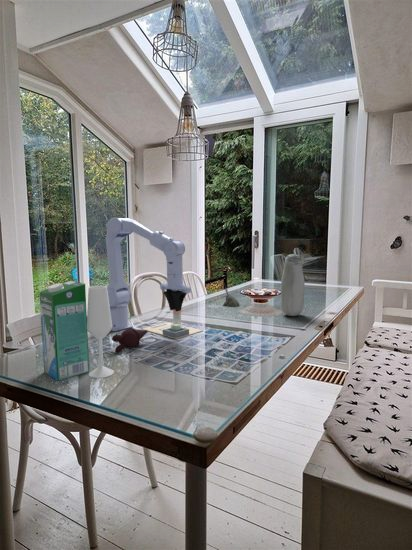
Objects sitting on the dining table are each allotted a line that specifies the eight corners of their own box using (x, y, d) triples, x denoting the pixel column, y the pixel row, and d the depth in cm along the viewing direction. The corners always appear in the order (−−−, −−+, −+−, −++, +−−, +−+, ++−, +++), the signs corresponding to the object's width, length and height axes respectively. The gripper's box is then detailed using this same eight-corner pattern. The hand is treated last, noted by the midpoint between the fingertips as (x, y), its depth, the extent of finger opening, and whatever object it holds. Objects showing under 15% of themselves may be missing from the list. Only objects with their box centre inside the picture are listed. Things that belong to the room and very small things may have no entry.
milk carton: (43, 372, 105) (38, 283, 102) (74, 363, 111) (70, 280, 108) (57, 381, 99) (52, 286, 96) (89, 371, 105) (85, 282, 102)
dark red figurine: (137, 322, 135) (104, 335, 123) (151, 320, 130) (118, 333, 118) (142, 341, 135) (109, 356, 123) (157, 339, 130) (124, 354, 119)
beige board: (176, 338, 136) (176, 337, 136) (141, 329, 149) (141, 328, 149) (202, 331, 146) (202, 330, 146) (168, 322, 160) (168, 322, 160)
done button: (175, 333, 139) (175, 326, 138) (169, 331, 141) (168, 325, 141) (182, 331, 141) (182, 324, 141) (176, 330, 144) (176, 323, 143)
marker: (176, 328, 149) (177, 309, 148) (171, 327, 151) (171, 308, 150) (182, 327, 151) (183, 308, 150) (177, 325, 153) (177, 307, 152)
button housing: (175, 337, 136) (175, 333, 136) (162, 334, 141) (162, 329, 141) (189, 333, 141) (189, 329, 141) (176, 330, 146) (176, 326, 146)
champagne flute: (118, 372, 104) (115, 286, 101) (97, 379, 99) (93, 289, 96) (105, 366, 109) (101, 284, 106) (84, 373, 104) (79, 287, 101)
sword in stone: (243, 305, 197) (243, 282, 195) (237, 308, 190) (236, 285, 189) (226, 303, 202) (226, 281, 200) (219, 306, 196) (218, 283, 194)
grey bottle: (304, 318, 166) (306, 254, 162) (281, 317, 167) (282, 254, 164) (302, 313, 175) (304, 253, 172) (280, 312, 177) (281, 253, 174)
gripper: (196, 274, 137) (197, 311, 138) (169, 271, 146) (170, 306, 148) (182, 276, 131) (183, 314, 133) (155, 273, 141) (156, 308, 143)
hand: (175, 310), depth 140 cm, fingers closed
